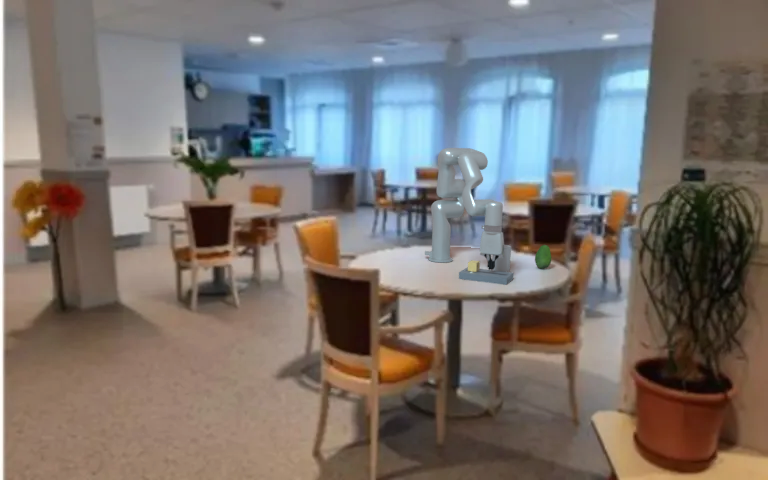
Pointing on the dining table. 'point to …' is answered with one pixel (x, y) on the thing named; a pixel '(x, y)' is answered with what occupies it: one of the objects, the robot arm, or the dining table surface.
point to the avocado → (543, 257)
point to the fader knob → (474, 266)
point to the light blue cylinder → (504, 260)
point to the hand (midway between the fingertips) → (491, 269)
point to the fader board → (487, 276)
